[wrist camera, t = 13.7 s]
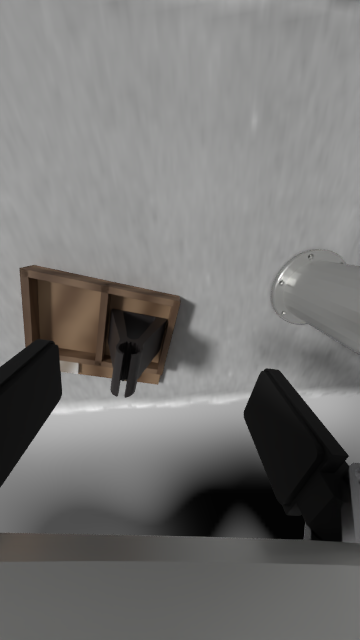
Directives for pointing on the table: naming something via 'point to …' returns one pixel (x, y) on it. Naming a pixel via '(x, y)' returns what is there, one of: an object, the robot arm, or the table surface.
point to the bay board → (88, 318)
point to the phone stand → (132, 346)
